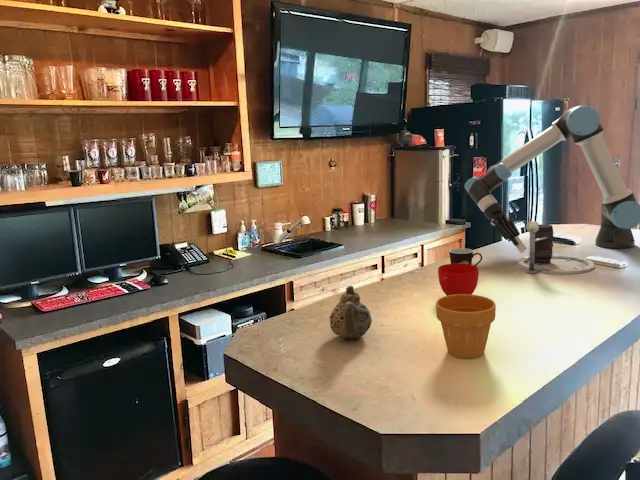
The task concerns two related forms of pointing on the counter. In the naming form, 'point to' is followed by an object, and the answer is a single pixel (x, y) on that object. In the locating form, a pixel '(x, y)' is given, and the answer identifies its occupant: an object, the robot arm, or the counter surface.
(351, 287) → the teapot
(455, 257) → the coffee mug
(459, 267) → the ceramic cup
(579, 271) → the grey flat ring
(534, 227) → the metal stand with knob
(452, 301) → the flower pot
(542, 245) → the camera lens
